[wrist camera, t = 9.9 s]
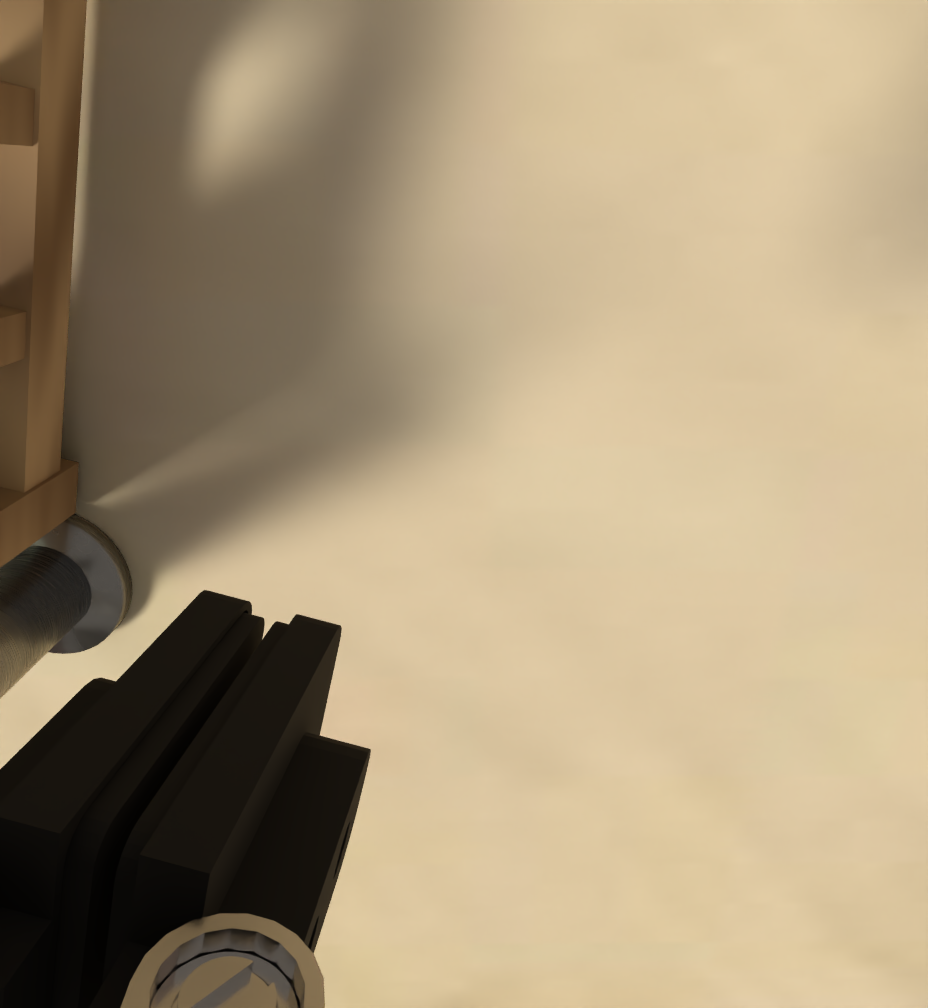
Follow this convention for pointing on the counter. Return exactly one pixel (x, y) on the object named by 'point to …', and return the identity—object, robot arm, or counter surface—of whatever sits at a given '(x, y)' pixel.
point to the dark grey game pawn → (60, 597)
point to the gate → (36, 260)
